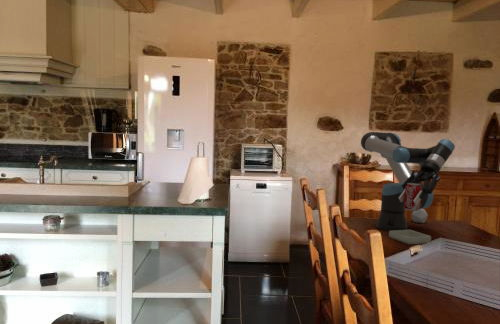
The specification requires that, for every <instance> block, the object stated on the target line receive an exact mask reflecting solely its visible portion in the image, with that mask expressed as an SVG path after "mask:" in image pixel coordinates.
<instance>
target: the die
mask: <svg viewBox="0 0 500 324" xmlns="http://www.w3.org/2000/svg"><path fill="white" fill-rule="evenodd" d="M425 209H426V208H422V209H420V210H418V211H412V213H411V216H410V217H411V218H412V220H413V223H415V222H416V223H419V224H425V222H426V220H427V219H428V216H429V215H428V213H427V211H426V210H425ZM416 223H415V224H416Z"/></svg>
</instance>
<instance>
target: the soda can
mask: <svg viewBox="0 0 500 324" xmlns="http://www.w3.org/2000/svg"><path fill="white" fill-rule="evenodd" d="M420 185H421V184H416V183H407V186H406V187H405V197H404V208H405V211H410V212H413V211H418V210H420V207H421V200H420V202H419V203H418V205H415V203H414V201H413V200H414V199H415V198H416V196H417V195H418V193H419V192H420V190H422V188H421V186H420Z"/></svg>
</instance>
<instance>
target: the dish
mask: <svg viewBox="0 0 500 324" xmlns="http://www.w3.org/2000/svg"><path fill="white" fill-rule="evenodd" d="M388 238H390V239H393V240H396V241H399V242H401V243H404V244H407V245H419V244H421V245H422V244H427V243H426V242H429V241H431V242H432V236H431V235H429V234H425V233H422V232H418V231H416V230H412V229H407V230H393V231H388Z"/></svg>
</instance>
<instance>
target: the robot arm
mask: <svg viewBox="0 0 500 324" xmlns="http://www.w3.org/2000/svg"><path fill="white" fill-rule="evenodd" d="M401 142H402V140H401V138H400V136H399V135H398V134H397V133H393V132H383V131H382V132H380V131H379V132H378V131H369V132H366V133H365V134H363V135H362V137H361V139H360V146H361V147H362V149H363V150H364V151H366V152H369V153H374V152H375V153H378V154H379V155H380V156H381V157H382V158H383V159H385V160H386V161H387V163H388V165H389V167H390V169H391V171H392V172H393V175H394V176H395V178H396V180H397V181H398V182H389V183H385V184H384V185H383V186H382V189H381V201H380V202H381V203H380V214H379V216H378V218H377V221H376V224H375V227H376V228H377V229H380V230H384V231H388V232H389V231H393V230H408V223H407V219H406V215H405V214H406V209H405V208H404V197H405V187H406V186H407V183H416V184H421V185H420V186H421V188H422V190H420V192H419V193H418V195H417V196H416V198H415V199H414V200H413V201H414V203H415V205H418V203H419V202H420V200H421V207H420V209H427V208H429V207H430V206H431V205H432V204H433V200H434V190H435V187H436V185H437V184H438V182H439V181H440V180H441V177H440V175H439V172H440V171H441V170H442V168H443V167H444V165H445V163H446V162H447V161H448V160H449V158H450V156H451V155H452V154H453V151H454V150H455V149H456V148H455V147H456V145H455V144H454V142H453V141H451V140H449V139H446V138H442V139H440V140H439V141H438V142H437V144H435V145H434V146H431V147H428V148H417V147H416V148H415V147H414V148H413V147H407V146H403V145H402V143H401ZM408 164H418V165H420V170H419V171H417V172H415V171H412V170H411V168H410V166H409V165H408Z"/></svg>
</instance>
